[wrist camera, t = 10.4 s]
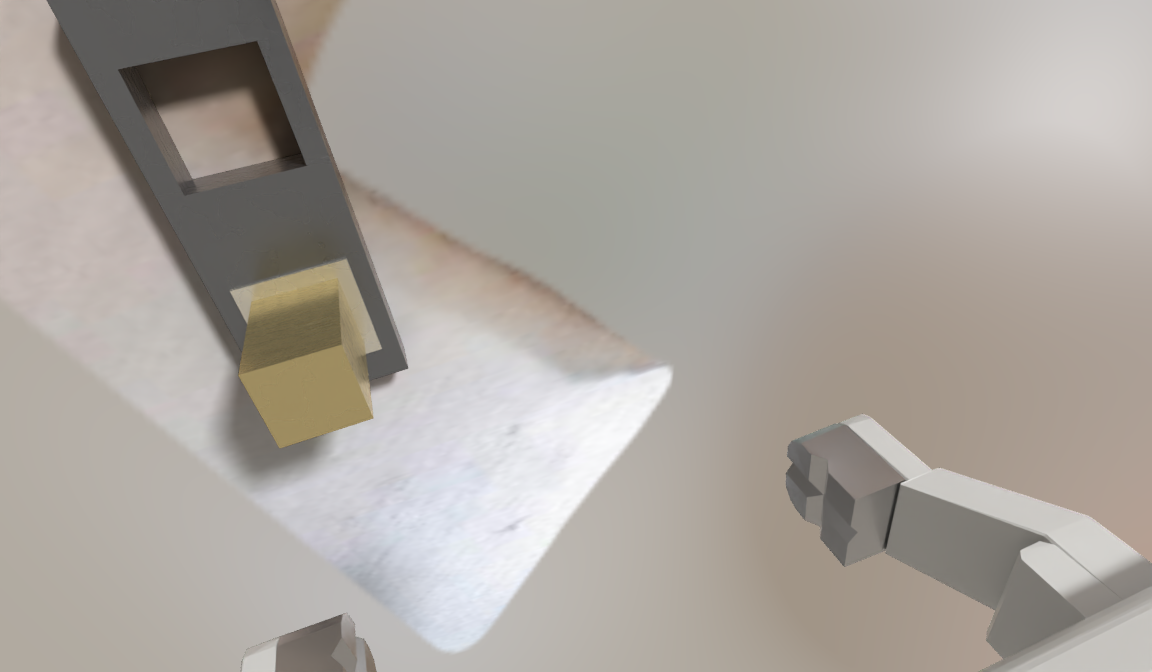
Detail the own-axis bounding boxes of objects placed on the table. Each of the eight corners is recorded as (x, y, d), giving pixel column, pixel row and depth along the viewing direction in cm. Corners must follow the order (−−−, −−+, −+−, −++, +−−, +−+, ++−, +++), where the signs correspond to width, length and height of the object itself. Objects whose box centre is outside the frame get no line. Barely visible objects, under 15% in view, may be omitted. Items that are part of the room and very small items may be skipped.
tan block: (251, 301, 33) (237, 375, 28) (337, 277, 34) (341, 344, 29) (285, 368, 36) (279, 448, 30) (364, 344, 37) (373, 418, 31)
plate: (62, -14, 27) (39, -9, 25) (257, -48, 28) (252, -47, 26) (276, 386, 39) (273, 412, 37) (403, 347, 41) (408, 370, 39)
